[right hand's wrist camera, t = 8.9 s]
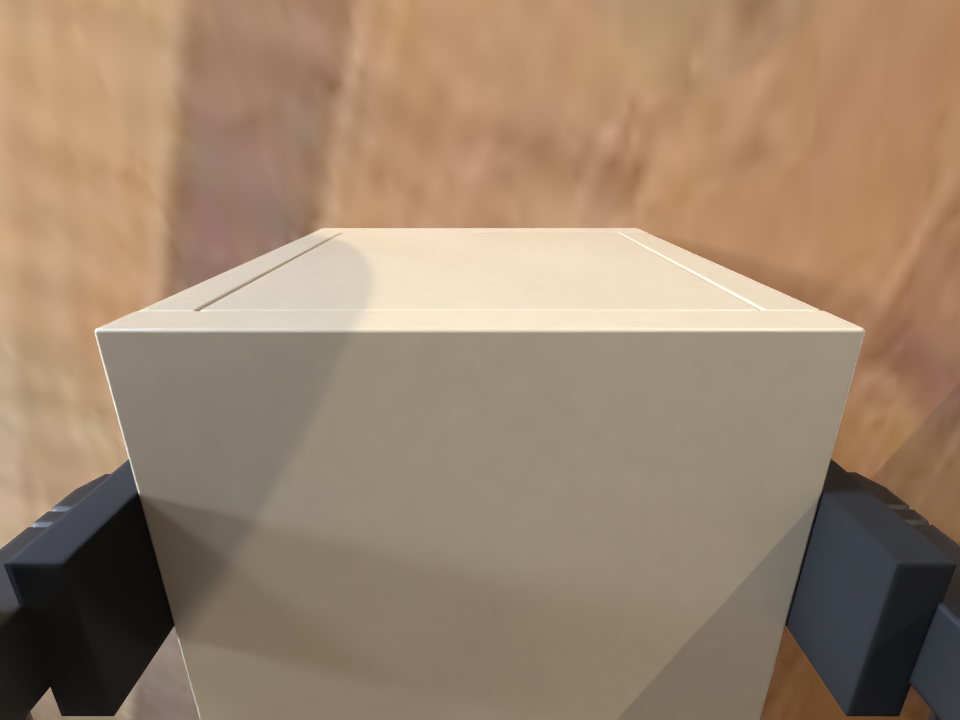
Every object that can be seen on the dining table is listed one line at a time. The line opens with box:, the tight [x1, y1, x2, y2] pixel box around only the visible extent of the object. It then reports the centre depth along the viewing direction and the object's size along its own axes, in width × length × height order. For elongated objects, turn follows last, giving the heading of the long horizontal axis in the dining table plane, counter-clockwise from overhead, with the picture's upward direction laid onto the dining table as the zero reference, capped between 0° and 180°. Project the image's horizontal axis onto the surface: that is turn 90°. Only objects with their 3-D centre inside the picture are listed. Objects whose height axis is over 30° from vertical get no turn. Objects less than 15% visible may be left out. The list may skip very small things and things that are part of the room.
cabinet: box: [95, 228, 865, 720], centre depth 16 cm, size 22×10×11 cm, turn 0°
